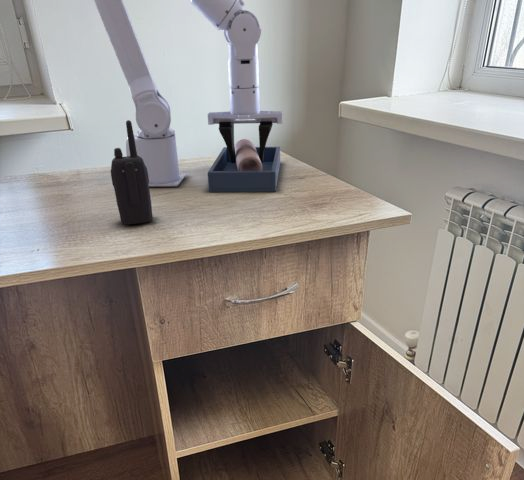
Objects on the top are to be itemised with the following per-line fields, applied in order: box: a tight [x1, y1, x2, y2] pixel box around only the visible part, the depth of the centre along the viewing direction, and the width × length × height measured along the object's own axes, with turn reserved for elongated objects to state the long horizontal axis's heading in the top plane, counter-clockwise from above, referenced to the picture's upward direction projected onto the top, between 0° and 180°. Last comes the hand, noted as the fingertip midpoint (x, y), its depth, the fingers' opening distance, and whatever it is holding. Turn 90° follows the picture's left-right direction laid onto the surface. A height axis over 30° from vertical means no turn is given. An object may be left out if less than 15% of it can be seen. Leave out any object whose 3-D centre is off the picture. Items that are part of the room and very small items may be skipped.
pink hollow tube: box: [234, 138, 262, 171], centre depth 101 cm, size 5×5×18 cm
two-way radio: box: [110, 119, 153, 226], centre depth 76 cm, size 6×4×15 cm
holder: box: [207, 146, 281, 193], centre depth 102 cm, size 13×23×4 cm, turn 176°
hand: (247, 162), depth 101 cm, fingers closed on pink hollow tube, 5 cm apart
